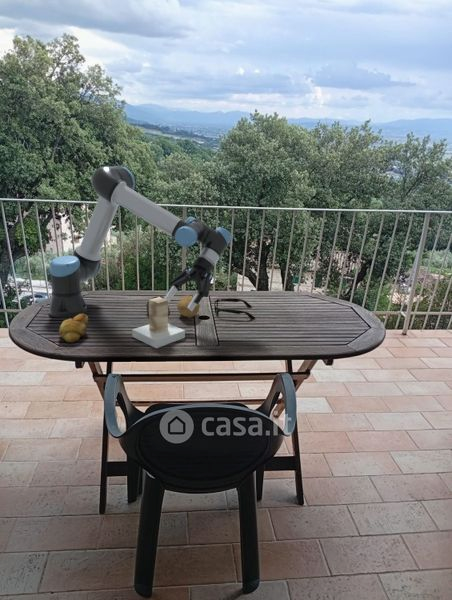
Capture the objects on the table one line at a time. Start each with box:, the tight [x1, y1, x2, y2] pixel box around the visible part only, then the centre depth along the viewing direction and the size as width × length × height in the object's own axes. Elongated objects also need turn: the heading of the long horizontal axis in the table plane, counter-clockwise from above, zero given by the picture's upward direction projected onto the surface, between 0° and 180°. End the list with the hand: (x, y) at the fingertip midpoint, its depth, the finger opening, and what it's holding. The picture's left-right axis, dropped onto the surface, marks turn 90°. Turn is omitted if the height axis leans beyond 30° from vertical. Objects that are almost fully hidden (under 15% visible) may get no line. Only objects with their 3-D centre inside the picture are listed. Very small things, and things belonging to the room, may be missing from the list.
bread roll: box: [58, 313, 89, 343], centre depth 157 cm, size 13×10×8 cm
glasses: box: [213, 298, 256, 320], centre depth 190 cm, size 17×18×5 cm
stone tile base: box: [131, 323, 186, 349], centre depth 161 cm, size 14×14×3 cm
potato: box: [176, 295, 201, 319], centre depth 183 cm, size 10×14×8 cm
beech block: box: [148, 297, 169, 333], centre depth 158 cm, size 5×5×12 cm
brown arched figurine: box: [145, 295, 171, 315], centre depth 187 cm, size 12×9×8 cm
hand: (177, 305), depth 164 cm, fingers open, 13 cm apart
